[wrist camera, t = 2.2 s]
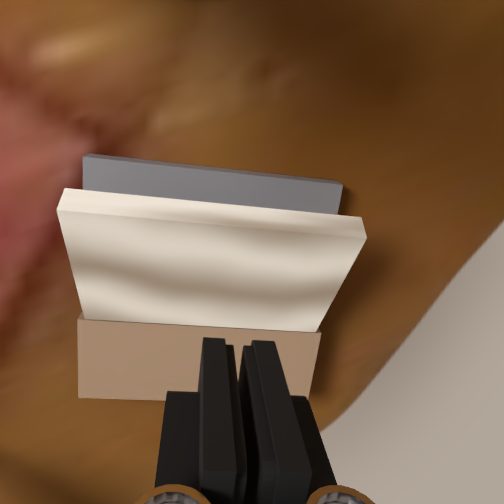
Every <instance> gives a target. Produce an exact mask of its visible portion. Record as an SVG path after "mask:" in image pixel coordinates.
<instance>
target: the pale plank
mask: <svg viewBox="0 0 504 504" xmlns="http://www.w3.org/2000/svg"><path fill="white" fill-rule="evenodd" d="M57 214H58V218H59V222H60V225H61V229H62V233H63V237H64V241H65V245H66V248H67V252H68V256H69V260H70V264H71V268H72V272H73V275H74V279H75V283H76V287H77V291H78V295H79V298H80V302H81V306H82V310H83V314H84V318H85V319H91V320H108V321H126V322H143V323H161V324H178V325H196V326H213V327H231V328H248V329H266V330H283V331H301V332H316V331H317V329H318V327H319V325H320V323H321V321H322V320H323V318H324V316H325V314H326V312H327V310H328V309H329V307H330V305H331V303H332V301H333V299H334V298H335V296H336V294H337V292H338V290H339V289H340V287H341V285H342V283H343V281H344V279H345V278H346V276H347V274H348V272H349V270H350V268H351V267H352V265H353V263H354V261H355V259H356V257H357V256H358V254H359V252H360V250H361V248H362V246H363V245H364V243H365V241H366V239H367V236H366V233H365V229H364V225H363V222H362V218H361V217H354V216H344V215H333V214H323V213H313V212H303V211H293V210H282V209H272V208H262V207H252V206H242V205H231V204H221V203H211V202H201V201H191V200H181V199H170V198H160V197H150V196H140V195H130V194H119V193H109V192H99V191H89V190H79V189H69V188H65V189H64V192H63V194H62V197H61V200H60V202H59V205H58V207H57Z"/></svg>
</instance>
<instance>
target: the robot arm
mask: <svg viewBox="0 0 504 504" xmlns="http://www.w3.org/2000/svg"><path fill="white" fill-rule="evenodd" d="M134 504H375V503H374V502H372V501H371V500H370V499H369V498H368V497H367V496H366V495H364V494H362V493H360V492H358V491H356V490H355V489H352V488H349V487H345V486H341V485H337V483H336V480H335V477H334V474H333V471H332V468H331V465H330V462H329V459H328V457H327V454H326V451H325V448H324V445H323V442H322V439H321V436H320V433H319V430H318V427H317V424H316V421H315V418H314V415H313V412H312V410H311V407H310V404H309V401H308V399H307V397H305V396H298V395H290V392H289V389H288V385H287V382H286V378H285V375H284V371H283V368H282V365H281V361H280V358H279V354H278V351H277V347H276V344H275V341H266V340H252V342H251V346H249V345H244V346H243V350H242V357H241V364H240V372H239V379H237V370H236V362H235V353H234V345H230V344H226V341H225V338H210V337H203V341H202V351H201V361H200V371H199V381H198V391H197V392H187V391H167V394H166V402H165V410H164V417H163V425H162V433H161V441H160V448H159V456H158V464H157V472H156V480H155V487H154V488H153V489H151V490H150V491H148V492H146V493H144V494H143V495H141V497H140V498H139V499H138V500H137V501H136V502H135V503H134Z"/></svg>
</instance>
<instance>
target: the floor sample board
mask: <svg viewBox="0 0 504 504" xmlns="http://www.w3.org/2000/svg"><path fill="white" fill-rule="evenodd" d="M342 188H343V185H342V184H341V183H339V182H338V181H335V180H326V179H317V178H308V177H299V176H290V175H281V174H271V173H262V172H253V171H244V170H235V169H226V168H217V167H208V166H199V165H190V164H181V163H171V162H162V161H153V160H144V159H135V158H126V157H117V156H108V155H99V154H90V153H89V154H87V155H85V156H83V190H89V191H99V192H109V193H119V194H130V195H140V196H150V197H160V198H170V199H181V200H191V201H201V202H211V203H221V204H231V205H242V206H252V207H262V208H272V209H282V210H293V211H303V212H313V213H323V214H333V215H337V214H338V209H339V204H340V199H341V194H342ZM77 321H78V398H103V399H134V400H165V401H166V394H167V391H187V392H197V391H198V381H199V371H200V361H201V351H202V341H203V337H210V338H225V341H226V344H230V345H234V353H235V362H236V370H237V379H239V372H240V364H241V357H242V350H243V346H244V345H249V346H251V342H252V340H266V341H275V344H276V347H277V351H278V354H279V358H280V361H281V365H282V368H283V371H284V375H285V378H286V382H287V385H288V389H289V392H290V395H298V396H305V397H307V399H308V397H309V392H310V387H311V382H312V377H313V372H314V367H315V362H316V358H317V353H318V348H319V343H320V338H321V332H320V330H319V328H318V329H317V331H316V332H301V331H283V330H266V329H248V328H231V327H213V326H196V325H178V324H161V323H143V322H126V321H108V320H91V319H85V318H84V314H83V311H82V312H81V314H80V316H79V318H78V320H77Z"/></svg>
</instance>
